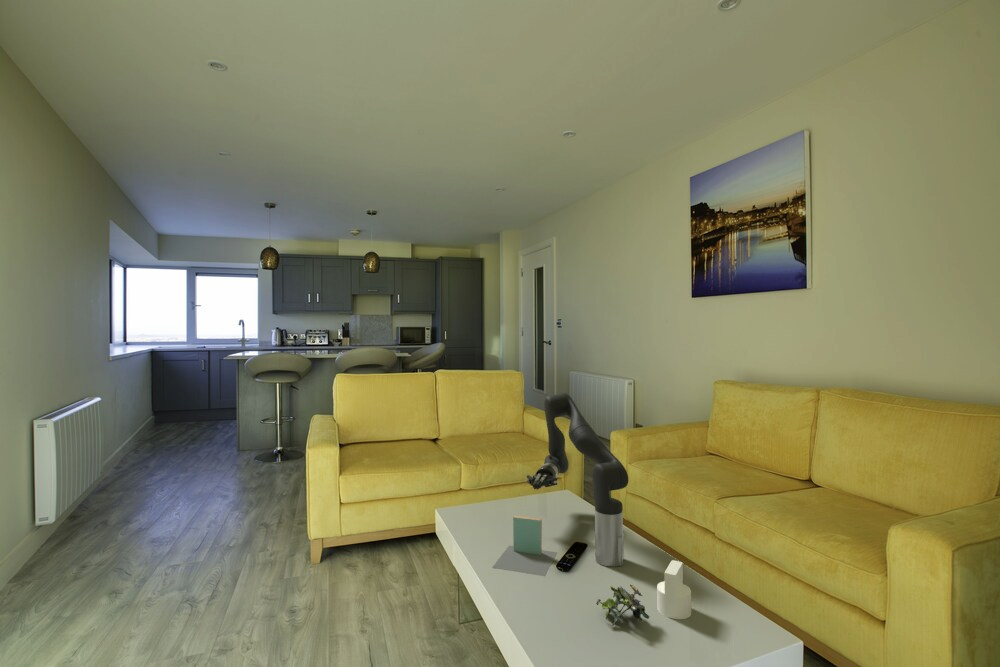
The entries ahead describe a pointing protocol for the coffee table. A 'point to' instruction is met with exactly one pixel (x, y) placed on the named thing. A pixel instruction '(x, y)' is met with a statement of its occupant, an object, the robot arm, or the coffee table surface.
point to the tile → (527, 535)
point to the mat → (525, 561)
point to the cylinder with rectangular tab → (674, 593)
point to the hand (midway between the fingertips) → (536, 486)
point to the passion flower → (627, 600)
